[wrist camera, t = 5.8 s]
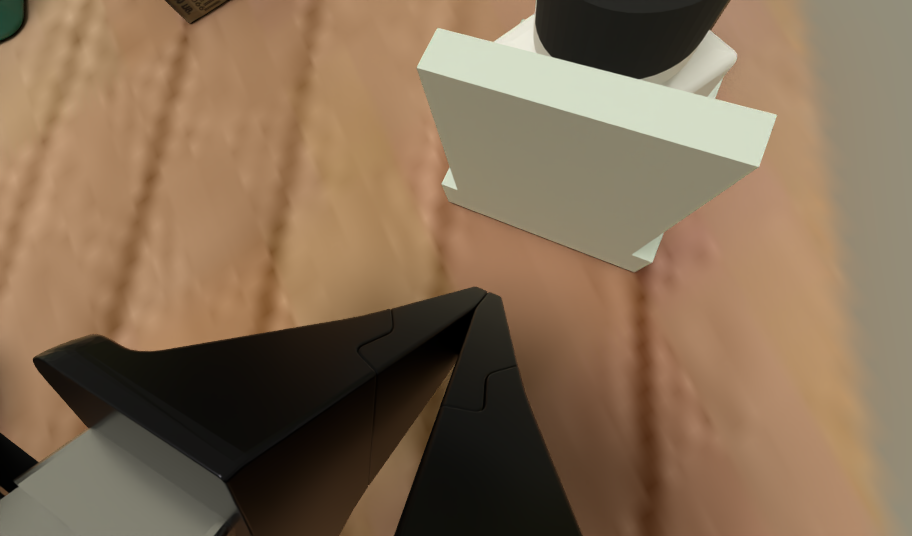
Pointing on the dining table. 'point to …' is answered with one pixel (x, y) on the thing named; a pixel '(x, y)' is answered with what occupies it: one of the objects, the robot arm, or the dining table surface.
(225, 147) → the dining table surface
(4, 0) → the teal tall bottle shape
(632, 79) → the white angle bracket
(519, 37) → the medicine bottle
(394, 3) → the dining table surface
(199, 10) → the beverage carton
